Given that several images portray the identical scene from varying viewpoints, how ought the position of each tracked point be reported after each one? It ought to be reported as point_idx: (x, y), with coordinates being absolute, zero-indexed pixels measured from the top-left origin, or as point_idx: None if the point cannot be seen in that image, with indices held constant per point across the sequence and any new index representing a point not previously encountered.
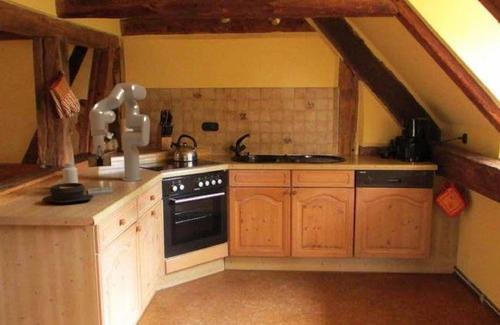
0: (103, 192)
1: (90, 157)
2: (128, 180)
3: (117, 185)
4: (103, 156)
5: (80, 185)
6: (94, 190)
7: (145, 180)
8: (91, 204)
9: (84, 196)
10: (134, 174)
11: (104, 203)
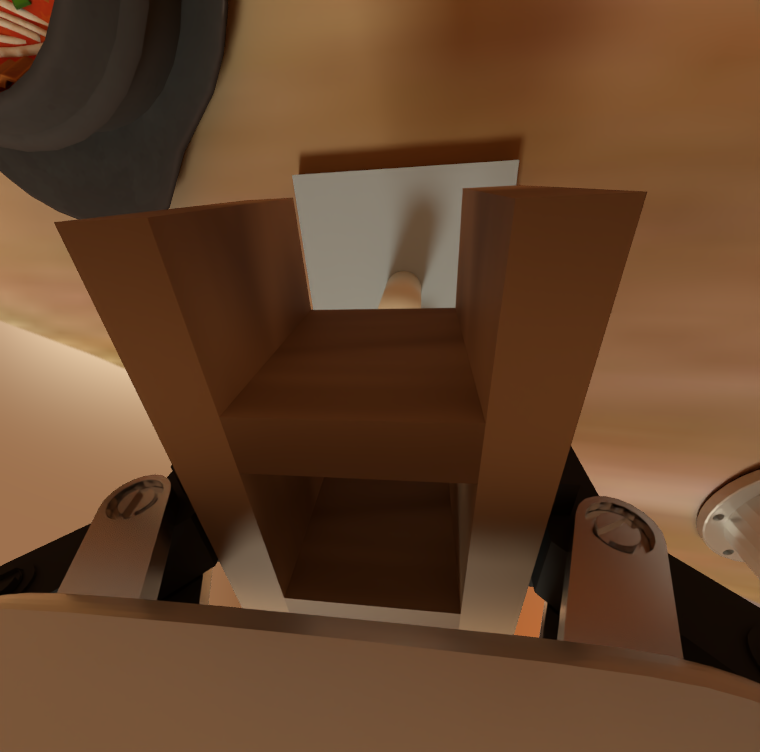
0: (313, 302)
1: (496, 322)
2: (729, 487)
3: (616, 406)
4: (447, 620)
5: (6, 82)
6: (406, 231)
7: (671, 554)
8: (6, 208)
9: (91, 145)
10: (751, 555)
11: (49, 293)
